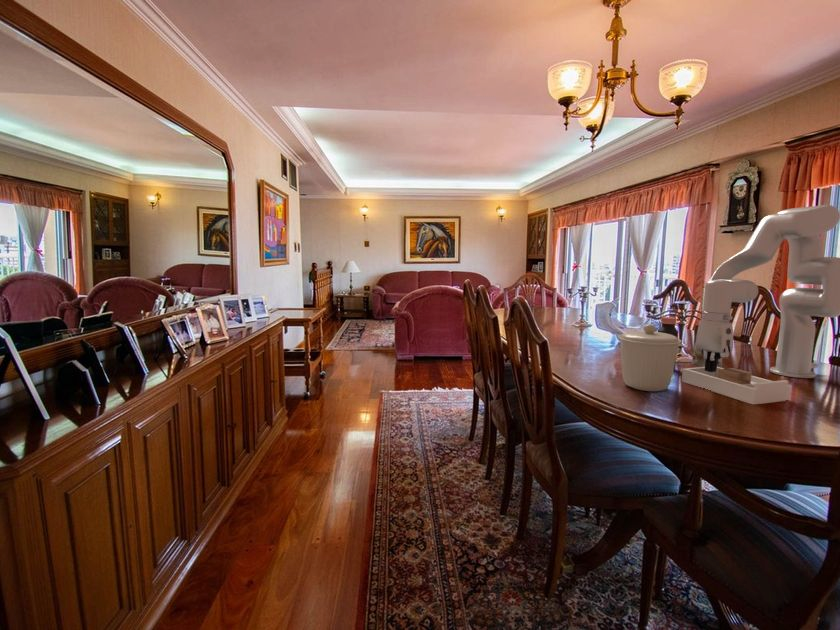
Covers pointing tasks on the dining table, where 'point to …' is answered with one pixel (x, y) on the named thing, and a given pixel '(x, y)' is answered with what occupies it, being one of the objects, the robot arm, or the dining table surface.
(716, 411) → the dining table surface
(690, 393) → the dining table surface
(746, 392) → the box
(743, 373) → the walnut block
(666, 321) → the bottle
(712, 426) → the dining table surface
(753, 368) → the dining table surface
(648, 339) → the canister
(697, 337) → the robot arm
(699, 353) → the coffee box
